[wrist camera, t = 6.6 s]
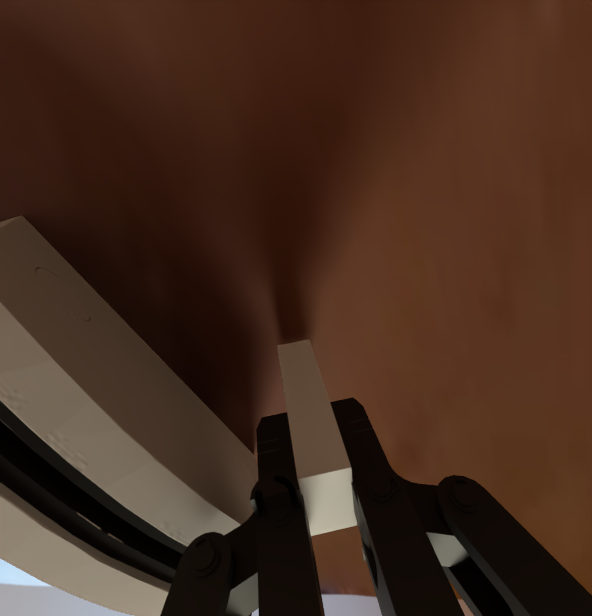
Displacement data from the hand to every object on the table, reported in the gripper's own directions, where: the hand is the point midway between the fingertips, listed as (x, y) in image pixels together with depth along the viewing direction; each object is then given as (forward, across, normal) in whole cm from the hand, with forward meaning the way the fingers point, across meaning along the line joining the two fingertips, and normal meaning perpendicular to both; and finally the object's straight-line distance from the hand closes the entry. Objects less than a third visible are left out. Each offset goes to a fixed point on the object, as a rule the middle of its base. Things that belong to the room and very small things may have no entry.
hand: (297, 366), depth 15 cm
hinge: (+2, -7, 0) cm, 8 cm away
